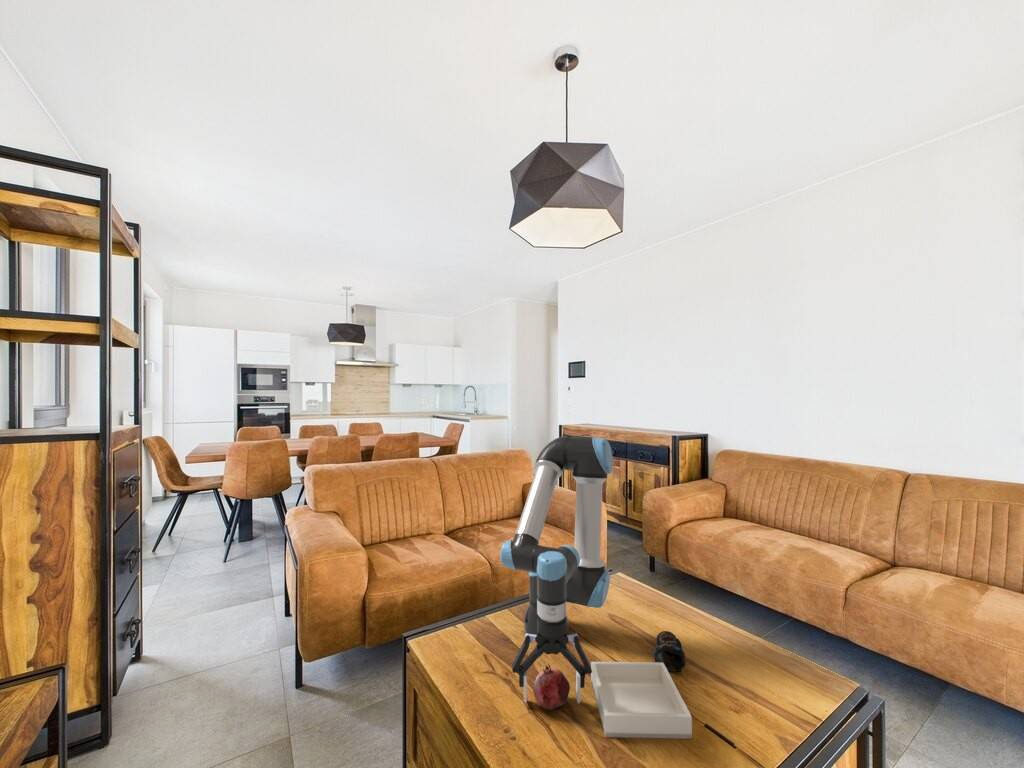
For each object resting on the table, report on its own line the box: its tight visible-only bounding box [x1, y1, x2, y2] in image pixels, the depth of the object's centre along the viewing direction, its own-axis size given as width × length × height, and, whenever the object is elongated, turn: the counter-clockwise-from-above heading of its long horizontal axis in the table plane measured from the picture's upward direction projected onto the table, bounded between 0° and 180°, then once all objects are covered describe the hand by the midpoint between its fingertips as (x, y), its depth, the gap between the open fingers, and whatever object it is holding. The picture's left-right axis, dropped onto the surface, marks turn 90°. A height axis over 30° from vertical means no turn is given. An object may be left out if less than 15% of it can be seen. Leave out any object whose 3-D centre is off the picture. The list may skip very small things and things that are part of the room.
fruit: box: [532, 663, 571, 711], centre depth 112 cm, size 9×10×10 cm
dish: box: [590, 661, 693, 740], centre depth 111 cm, size 20×20×5 cm
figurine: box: [653, 630, 686, 674], centre depth 130 cm, size 9×8×15 cm
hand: (551, 699), depth 112 cm, fingers open, 13 cm apart
